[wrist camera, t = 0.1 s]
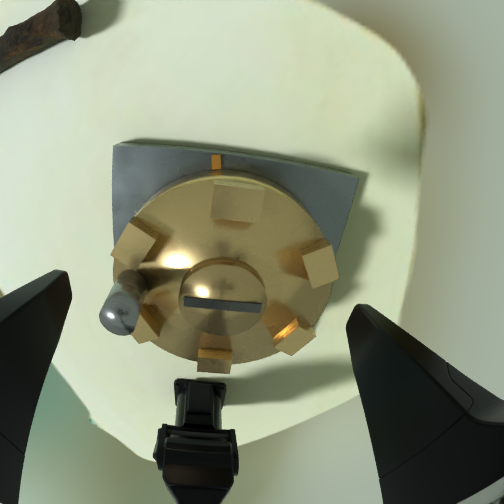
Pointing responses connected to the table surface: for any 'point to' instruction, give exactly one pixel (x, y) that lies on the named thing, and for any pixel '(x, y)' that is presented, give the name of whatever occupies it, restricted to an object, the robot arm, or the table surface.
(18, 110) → the table surface
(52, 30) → the rough bark branch
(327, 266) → the ring nut
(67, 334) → the table surface
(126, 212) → the base plate
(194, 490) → the robot arm
